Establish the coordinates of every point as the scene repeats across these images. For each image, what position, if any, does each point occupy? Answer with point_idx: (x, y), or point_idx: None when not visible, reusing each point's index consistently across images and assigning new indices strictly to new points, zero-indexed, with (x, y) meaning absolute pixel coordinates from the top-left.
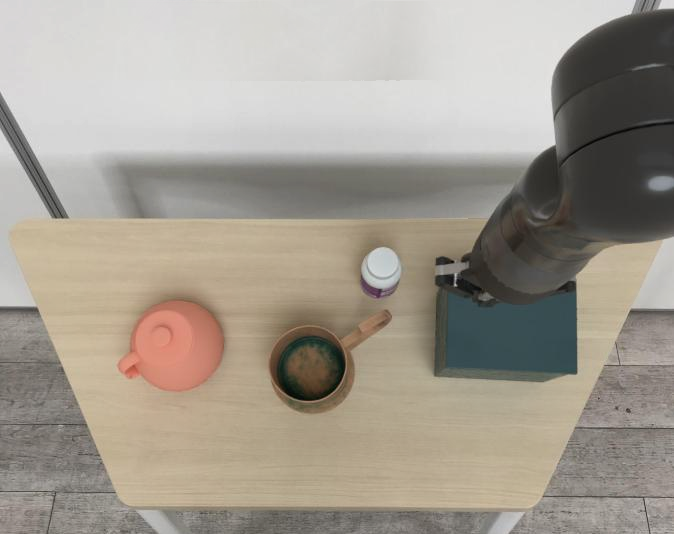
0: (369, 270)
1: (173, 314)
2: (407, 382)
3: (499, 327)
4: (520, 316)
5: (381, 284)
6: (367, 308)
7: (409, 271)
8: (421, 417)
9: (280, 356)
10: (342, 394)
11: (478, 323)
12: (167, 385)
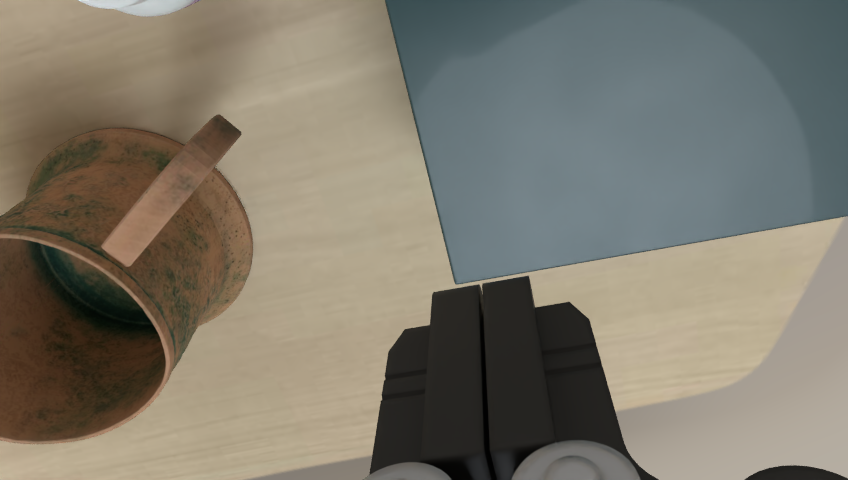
0: None
1: None
2: (389, 200)
3: (624, 104)
4: (708, 36)
5: (155, 8)
6: (204, 23)
7: None
8: (449, 273)
9: (28, 244)
10: (232, 280)
11: (538, 109)
12: None
